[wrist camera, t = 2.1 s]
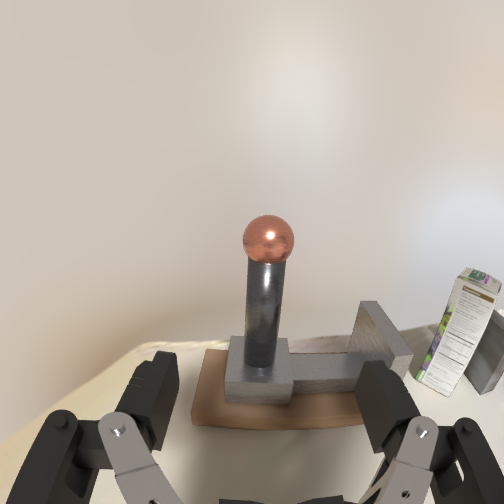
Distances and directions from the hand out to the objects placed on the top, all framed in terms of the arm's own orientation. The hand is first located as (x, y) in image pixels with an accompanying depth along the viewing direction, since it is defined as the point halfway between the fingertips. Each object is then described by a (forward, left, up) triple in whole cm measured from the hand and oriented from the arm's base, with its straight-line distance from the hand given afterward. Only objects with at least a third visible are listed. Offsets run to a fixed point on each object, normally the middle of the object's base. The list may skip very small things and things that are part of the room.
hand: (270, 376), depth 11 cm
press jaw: (-5, -13, -13) cm, 18 cm away
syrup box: (-24, -13, -15) cm, 31 cm away
